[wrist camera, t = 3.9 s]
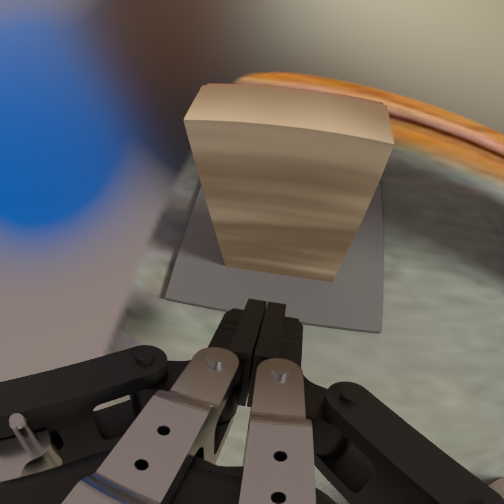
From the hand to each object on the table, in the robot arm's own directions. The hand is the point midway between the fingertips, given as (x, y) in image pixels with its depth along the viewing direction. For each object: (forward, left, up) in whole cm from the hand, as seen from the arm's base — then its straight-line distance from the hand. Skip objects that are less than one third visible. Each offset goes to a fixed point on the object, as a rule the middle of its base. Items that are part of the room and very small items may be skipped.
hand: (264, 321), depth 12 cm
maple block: (+4, -4, -6) cm, 9 cm away
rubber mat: (+8, -9, -7) cm, 14 cm away
